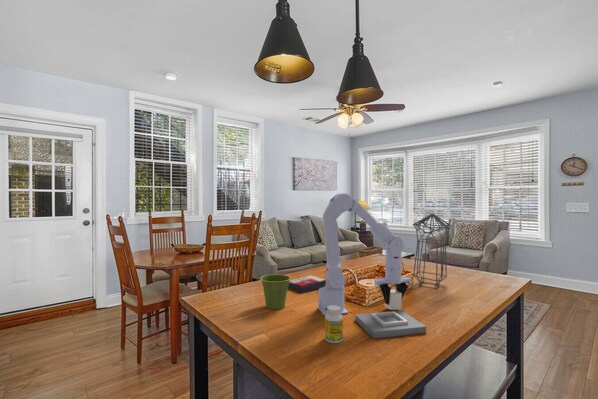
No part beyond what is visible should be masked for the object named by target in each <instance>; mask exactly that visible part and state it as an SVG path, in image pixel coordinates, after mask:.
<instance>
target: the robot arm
mask: <svg viewBox="0 0 598 399" xmlns="http://www.w3.org/2000/svg"><path fill="white" fill-rule="evenodd" d="M328 202H329V203H328V204H327V206H326V208H325V210H324V211H323V213H322V218H323V230H324V242H325V252H326V270H325V272H324V277H325V280H326V284H325V287H323V288H319V289H318V293H317V294H318V295H317V297H318V298H317V299H318V301H317V305H318V306H317V309H318V310H319V311H320V312H321V313H322V315H323V316H325V315H326V314H327V313H328V312H327V307H328V306H332V305H334V306H339V307H340V308H341V312H340V314H341V315H343V314H349V311H348V310H347V309H346V308H345V284H346V276H345V275H344V274H343V270H342V265H341V260H340V259H341V258H340V248H339V237H338V225H337V223H338V222H337V219H338V218H339V217H340V216H341V215H342V214H344V213H345V212H347V211H348V212H350V213H354V214H355V215H357V217H359V218H360V219H361V220H363V222H364V223H366V225H368V226H369V228H370V229H369V230H370V233H371V234H372V235H373V236H375V237H376V239H378V240H379V241H380V242H381V244H382V245H383V246H384V248H385V277H381V278H375V279H374V285H375V286H377V287H379V290H380V291H381V293H382V297H383V301H384V304H385V303H386V304H387V305H389V297H390V290H392V287H390V286H389V285H395V290H397V291H399V292H400V293H402V300H403V299H404V295H405V293H406V291H407V290H408V289H409V285H407V284H410V285H411V284H412V282H413V279H412V278H411V277H410V276H409V277H408V276H407V277H405V276H404V277H403V276H402V251H403V250H404V248H405V244H404V240H403V239H402V238H400V236H397V235H396V234H397V233H396V232H395V231H392V230H391V228H390V227H388V224H387V223H386V222H385V221H382V220H376V219H375V218H374V216H372V214H370V212H368V210H366V208H365V207H364V206H363V205H362V204H361V203H360V202H359V201H357V200H356V199H355V198H354V197H352V196H351V195H350V194H348V193H345V192H344V193H343V192H342V193H337V194H335V195H333V197H331V199H329V201H328Z"/></svg>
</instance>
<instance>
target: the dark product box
mask: <svg viewBox="0 0 598 399" xmlns="http://www.w3.org/2000/svg"><path fill="white" fill-rule="evenodd" d="M326 283H327V279H324V278H322V277H321V278H320V277H317V276H315V275H307V276H302V277H298V278H295V279H290V280H289V285H288V289H290V290H292V291H295V292H297V293H301V294H305V293H309V292H313V291H315V290H319V288H323V287H325V284H326Z"/></svg>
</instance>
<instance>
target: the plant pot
mask: <svg viewBox="0 0 598 399" xmlns="http://www.w3.org/2000/svg"><path fill="white" fill-rule="evenodd" d="M259 278H260V279H259V280H260V281H261V285H262V287H263V294H264V301H265V308H267V309H270V310H275V311H277V310H281V309H283V308H284V307H285V306H286V302H287V301H286V300H287V294H288V289H289V288H288V285H289V281H290V280H292V277H291V276H290V275H286V274H277V273H276V274H275V273H273V274H265V275H262V276H260V277H259Z"/></svg>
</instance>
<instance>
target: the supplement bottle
mask: <svg viewBox="0 0 598 399" xmlns="http://www.w3.org/2000/svg"><path fill="white" fill-rule="evenodd" d="M327 312H328V313H327V314H326V315H324V338H325V341H326V342H328V343H330V344H338V343H341V342H342V341H343V340H344V325H343V324H344V317H343V314H340V312H341V308H340V307H339V306H334V305H332V306H328V307H327Z"/></svg>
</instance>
